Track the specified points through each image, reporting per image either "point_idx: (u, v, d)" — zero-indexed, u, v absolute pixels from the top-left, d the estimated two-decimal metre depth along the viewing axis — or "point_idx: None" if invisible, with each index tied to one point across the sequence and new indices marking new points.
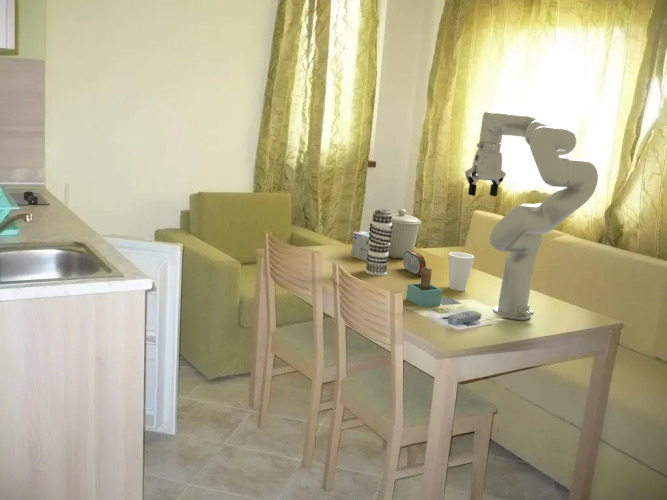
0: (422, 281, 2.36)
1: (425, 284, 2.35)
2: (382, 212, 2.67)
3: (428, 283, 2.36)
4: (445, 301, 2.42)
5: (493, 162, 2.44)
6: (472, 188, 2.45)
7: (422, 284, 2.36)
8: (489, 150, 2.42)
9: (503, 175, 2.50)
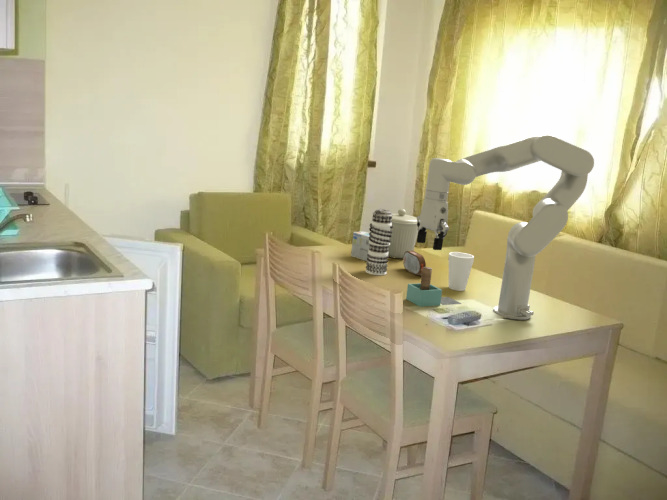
0: (422, 281, 2.36)
1: (425, 284, 2.35)
2: (382, 212, 2.67)
3: (428, 283, 2.36)
4: (445, 301, 2.42)
5: None
6: None
7: (422, 284, 2.36)
8: None
9: None
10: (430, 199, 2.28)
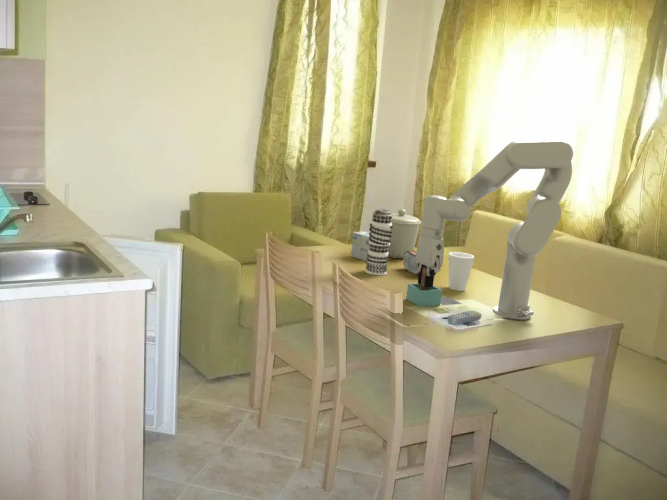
0: (422, 281, 2.36)
1: None
2: (382, 212, 2.67)
3: None
4: (445, 301, 2.42)
5: None
6: None
7: (422, 284, 2.36)
8: (442, 236, 2.33)
9: None
10: (426, 236, 2.30)
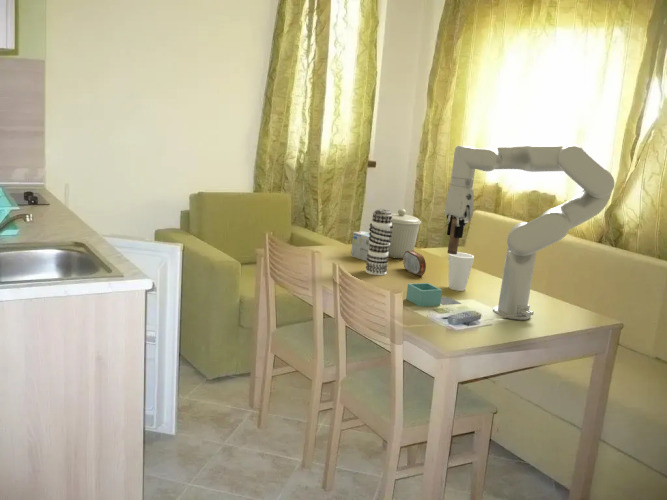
0: (451, 232, 2.36)
1: None
2: (382, 212, 2.67)
3: None
4: (445, 301, 2.42)
5: None
6: None
7: (451, 235, 2.37)
8: (472, 186, 2.33)
9: None
10: (456, 186, 2.31)
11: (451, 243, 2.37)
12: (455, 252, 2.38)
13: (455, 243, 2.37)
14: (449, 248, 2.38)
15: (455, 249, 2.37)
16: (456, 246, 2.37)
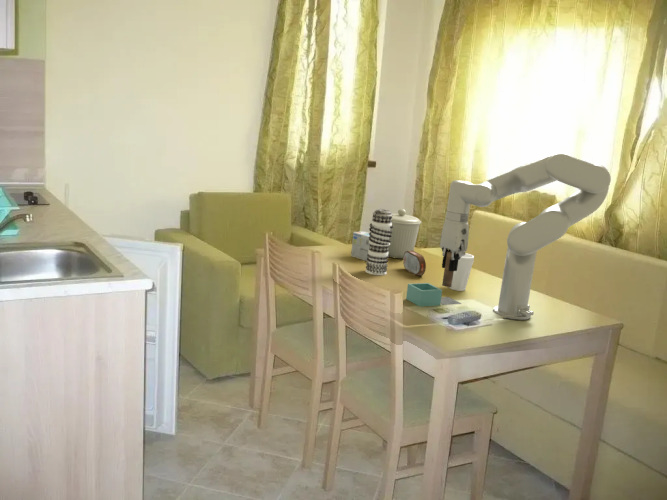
0: (446, 265, 2.39)
1: None
2: (382, 212, 2.67)
3: None
4: (445, 301, 2.42)
5: None
6: None
7: (446, 268, 2.39)
8: (467, 221, 2.36)
9: None
10: (451, 220, 2.34)
11: (446, 276, 2.40)
12: (450, 285, 2.40)
13: (450, 276, 2.39)
14: (444, 281, 2.40)
15: (450, 281, 2.40)
16: (451, 279, 2.40)
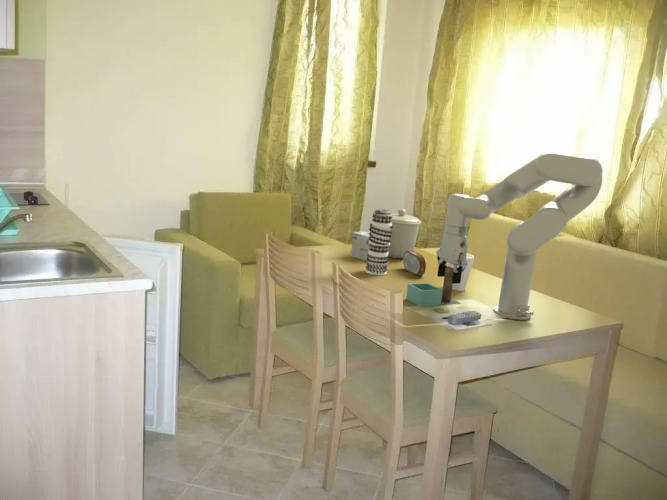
0: (445, 280, 2.40)
1: (448, 283, 2.40)
2: (382, 212, 2.67)
3: (451, 282, 2.40)
4: None
5: None
6: None
7: (445, 283, 2.40)
8: None
9: None
10: (449, 234, 2.35)
11: (445, 291, 2.41)
12: (449, 300, 2.41)
13: (449, 291, 2.40)
14: (443, 296, 2.41)
15: (449, 296, 2.41)
16: (450, 294, 2.41)
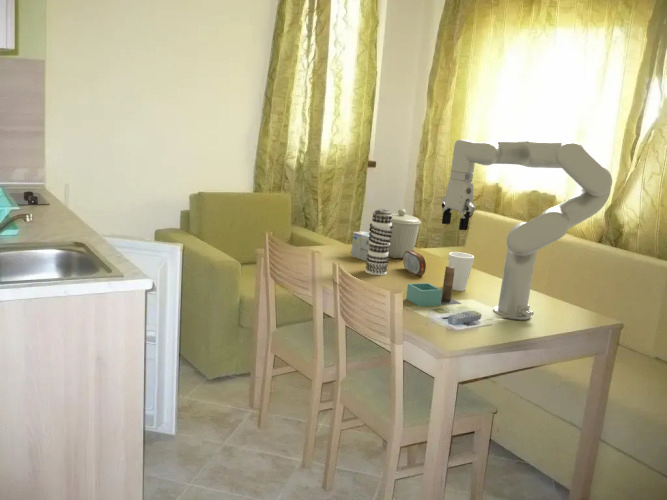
0: (445, 280, 2.40)
1: (448, 283, 2.40)
2: (382, 212, 2.67)
3: (451, 282, 2.40)
4: None
5: None
6: None
7: (445, 283, 2.40)
8: None
9: None
10: (456, 180, 2.31)
11: (445, 291, 2.41)
12: (449, 300, 2.41)
13: (449, 291, 2.40)
14: (443, 296, 2.41)
15: (449, 296, 2.41)
16: (450, 294, 2.41)
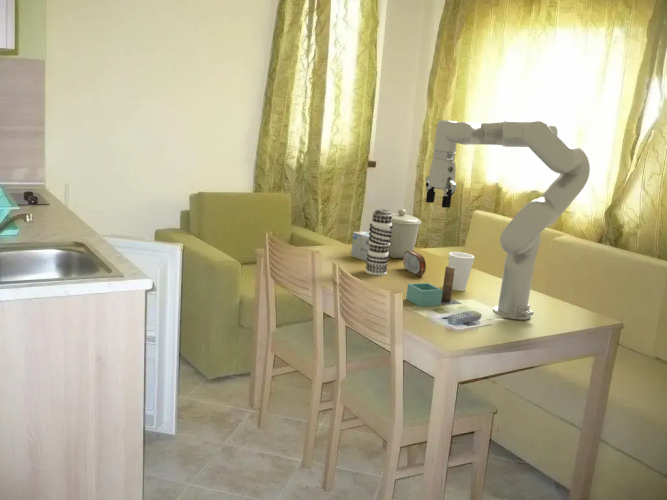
0: (445, 280, 2.40)
1: (448, 283, 2.40)
2: (382, 212, 2.67)
3: (451, 282, 2.40)
4: None
5: None
6: None
7: (445, 283, 2.40)
8: None
9: None
10: (438, 159, 2.40)
11: (445, 291, 2.41)
12: (449, 300, 2.41)
13: (449, 291, 2.40)
14: (443, 296, 2.41)
15: (449, 296, 2.41)
16: (450, 294, 2.41)
